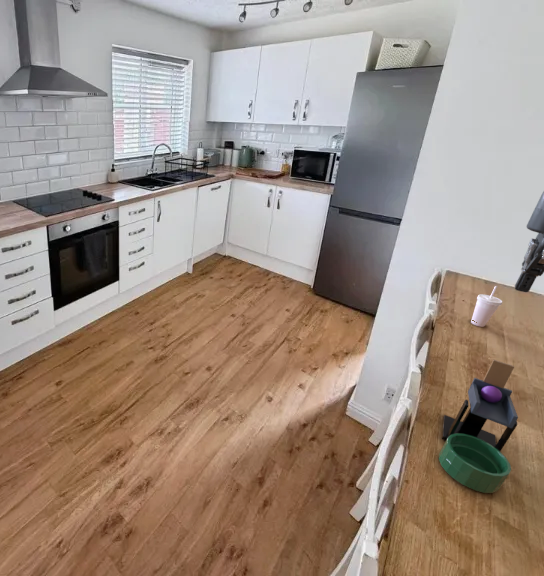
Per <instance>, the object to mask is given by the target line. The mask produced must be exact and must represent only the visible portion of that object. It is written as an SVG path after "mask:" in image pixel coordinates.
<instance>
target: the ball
mask: <svg viewBox="0 0 544 576" xmlns="http://www.w3.org/2000/svg"><path fill="white" fill-rule="evenodd" d="M481 396H482V398H483V399H484V400H486V401H488V402H493V403H494V402H498V401H500V400H501V398H502V393H501V391H500V390H499V389H498V388H496V387H493V386H486V387H484V388H482V390H481Z"/></svg>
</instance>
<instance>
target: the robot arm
mask: <svg viewBox="0 0 544 576" xmlns="http://www.w3.org/2000/svg"><path fill="white" fill-rule="evenodd" d="M526 229H527V230H529V231H531V232H534V233H537V235H536V237H535V238H530V240H529V243H528V247H527V250H526V253H525V254H524V257H523V261H522V263H521V266H522V267H521V269H520V270H521V273H520V275H519V277H518V279H517V281H516V282H515V285H514V290H515V291H518V292H522V293H529V292H530V290H531V288H532V287H533V285H534V283H535V281H536V279H537V278H538V277H541V276H543V274H544V191H543V192H542V194H541V195H540V197H539V199H538V201H537V202H536V205H535V208H534V209H533V212H532V213H531V216H530V218H529V220H528V222H527V224H526Z"/></svg>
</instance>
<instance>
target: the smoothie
mask: <svg viewBox="0 0 544 576" xmlns="http://www.w3.org/2000/svg"><path fill="white" fill-rule="evenodd" d="M497 288H498V285H494V288H493V290H492V292H491V294H490V295H489V294H484V293H483V294H482V293H481V294H478V295H477V297H476V303H475V306H474V310H473V313H472V317H471V321H470V324H472V325H474V326H477V327H480V328H481V327H482V328H483V327H485V326H486V325H487V323H489V321H490V319H491V318H492V317H493V315H494V314H495V313H496V311H497V310H498V308H499V307H500V306H502V305H503V300H502V299H501V298H498V297H496V296H494V295H495V292H496V290H497ZM472 320H474V321H475V322H474V321H472ZM476 322H477V323H476Z"/></svg>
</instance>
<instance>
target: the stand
mask: <svg viewBox="0 0 544 576" xmlns="http://www.w3.org/2000/svg"><path fill="white" fill-rule="evenodd" d="M468 408H469V409H468ZM467 410H468V411H467ZM465 414H466V415H465ZM464 415H465V417H464ZM462 419H463V420H462ZM487 420H488V419H486V418H483V417H480V416H478V415H475V414H473V413H471V408H470V407H469V399H465V400H464V401H463V403H462V405H461V407H460V409H459V411H458V413H457V415H456V416H455V418H454V417H452V416H449V415H446V414H444V415H443V417H442V427H441V429H442V430H441V440H443V441H444V443H445V442H446V440H447V438H448V437H449V436H450V435H452V434H456V433H458V434H467V435H471V436H474V437H476V438H479V439H481V440H483V441H485V442H487V443H489V444H490V445H492V446H493V447H495V448H496V449H497V450H499V451H500V452H501V451H502V450H503V448H504V447H505V445H506V443H507V442H508V440H509V439H510V437H511V435H512V434H513V433H514V432H515V429H516V428H517V426H518V420H517V421H516V422H515V424H514V426H513V428H509V427H505V430H504V431H503V433H502V434H501V436H500V437H499V438H498V441H497V439H496V434H494V433H491V432H490V431H487V430H484V429H483V428H484V426H485V424H486V422H487Z"/></svg>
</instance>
